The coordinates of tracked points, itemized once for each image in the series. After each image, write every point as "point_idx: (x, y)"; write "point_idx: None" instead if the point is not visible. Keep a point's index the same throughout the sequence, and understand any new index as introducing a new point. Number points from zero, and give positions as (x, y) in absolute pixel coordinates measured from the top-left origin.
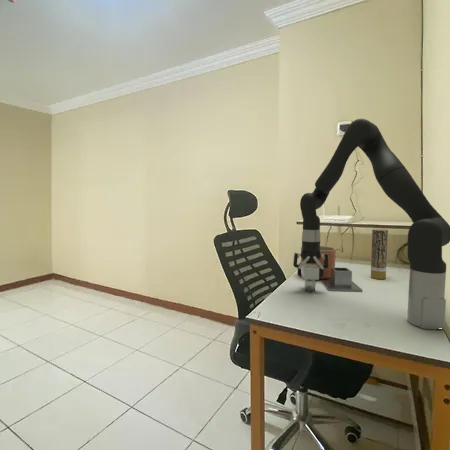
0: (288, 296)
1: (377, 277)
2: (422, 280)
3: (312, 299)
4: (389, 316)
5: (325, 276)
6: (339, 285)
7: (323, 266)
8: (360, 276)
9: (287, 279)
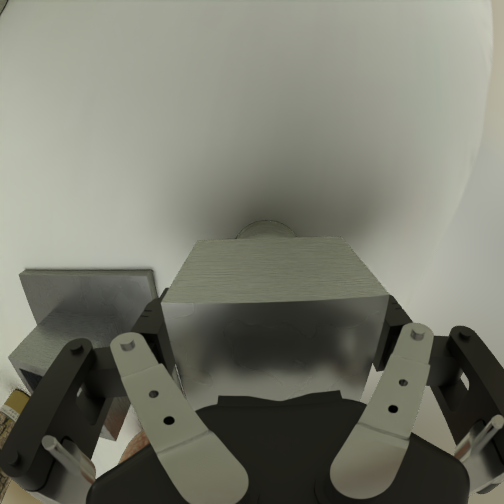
0: (412, 137)
1: (23, 397)
2: None
3: (277, 85)
4: (23, 10)
5: None
6: (92, 318)
7: (112, 363)
8: None
9: None
